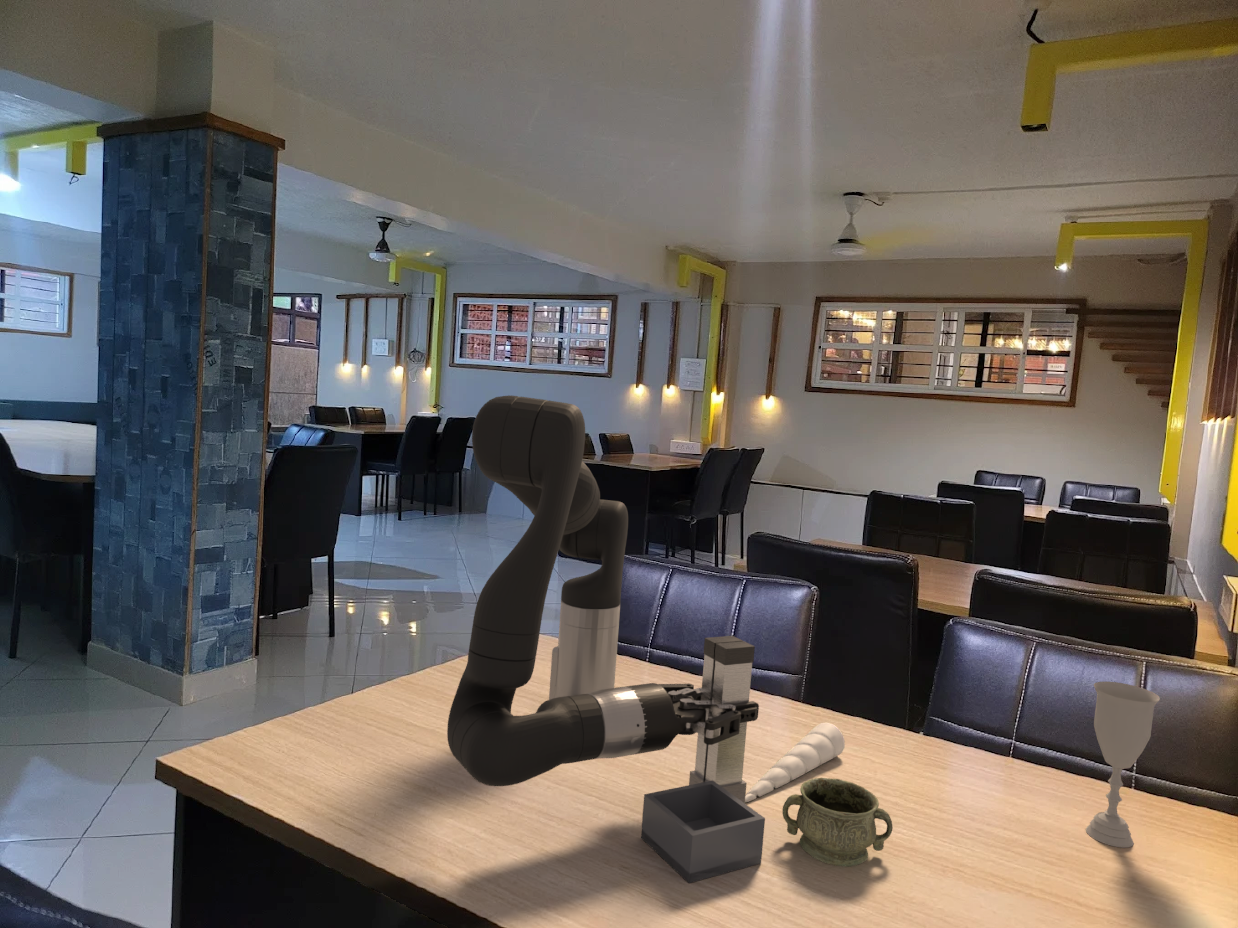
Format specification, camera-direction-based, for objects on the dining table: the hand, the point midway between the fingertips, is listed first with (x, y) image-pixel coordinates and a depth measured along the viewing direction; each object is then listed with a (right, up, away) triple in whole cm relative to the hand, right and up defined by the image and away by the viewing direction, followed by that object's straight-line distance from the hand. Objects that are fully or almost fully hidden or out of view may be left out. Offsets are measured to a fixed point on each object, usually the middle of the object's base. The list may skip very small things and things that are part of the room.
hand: (742, 702), depth 101 cm
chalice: (+44, -16, -3) cm, 47 cm away
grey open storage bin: (-7, -12, -12) cm, 19 cm away
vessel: (+9, -14, -10) cm, 19 cm away
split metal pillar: (-3, -12, -1) cm, 12 cm away
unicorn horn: (+8, -13, +8) cm, 17 cm away
